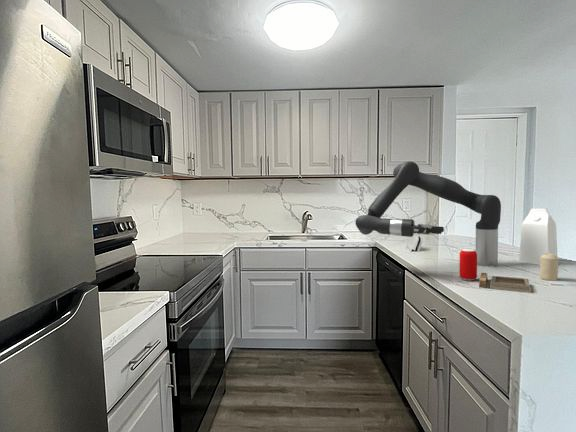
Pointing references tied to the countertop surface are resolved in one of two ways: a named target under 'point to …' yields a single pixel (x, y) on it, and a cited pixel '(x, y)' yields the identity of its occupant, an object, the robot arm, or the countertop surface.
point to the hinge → (415, 243)
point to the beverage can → (468, 264)
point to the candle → (549, 267)
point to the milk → (537, 236)
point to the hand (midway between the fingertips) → (442, 230)
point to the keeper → (510, 284)
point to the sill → (483, 280)
